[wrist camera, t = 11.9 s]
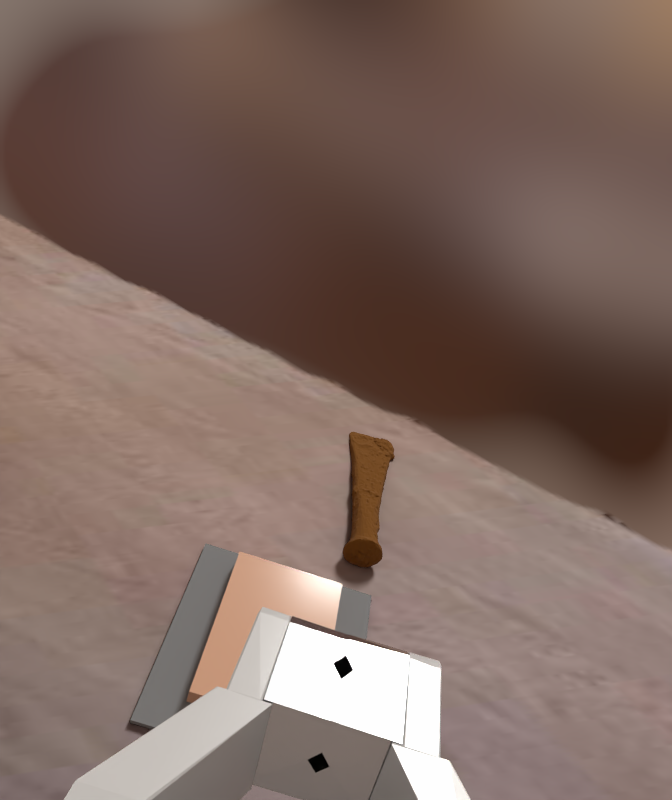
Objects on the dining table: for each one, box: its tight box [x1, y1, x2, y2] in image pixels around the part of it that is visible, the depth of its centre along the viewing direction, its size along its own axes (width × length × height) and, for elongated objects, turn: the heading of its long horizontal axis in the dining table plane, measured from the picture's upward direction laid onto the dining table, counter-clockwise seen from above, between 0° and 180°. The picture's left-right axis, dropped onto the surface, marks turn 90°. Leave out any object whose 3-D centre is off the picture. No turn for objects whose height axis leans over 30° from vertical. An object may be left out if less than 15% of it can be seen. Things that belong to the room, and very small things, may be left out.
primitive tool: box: [343, 432, 394, 567], centre depth 60 cm, size 19×6×4 cm, turn 176°
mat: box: [130, 544, 371, 729], centre depth 44 cm, size 15×15×1 cm
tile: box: [187, 552, 342, 703], centre depth 44 cm, size 9×2×12 cm
